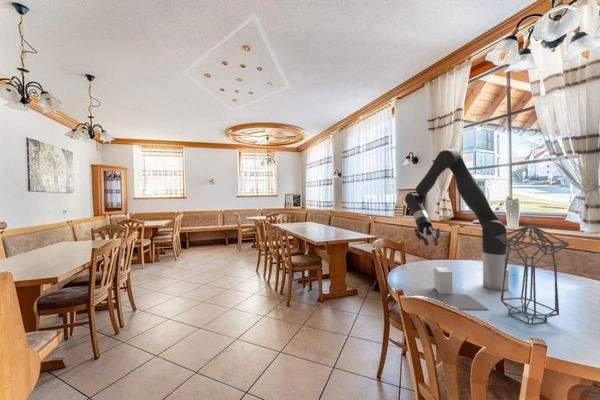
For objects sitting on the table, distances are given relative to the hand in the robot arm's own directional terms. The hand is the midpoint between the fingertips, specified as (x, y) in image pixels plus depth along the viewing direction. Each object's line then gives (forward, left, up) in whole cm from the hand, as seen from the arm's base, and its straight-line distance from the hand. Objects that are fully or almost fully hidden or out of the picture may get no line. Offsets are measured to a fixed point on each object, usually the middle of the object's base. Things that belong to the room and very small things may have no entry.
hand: (432, 245), depth 131 cm
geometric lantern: (-18, +38, -20) cm, 47 cm away
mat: (-1, +24, -20) cm, 31 cm away
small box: (0, +11, -20) cm, 23 cm away
